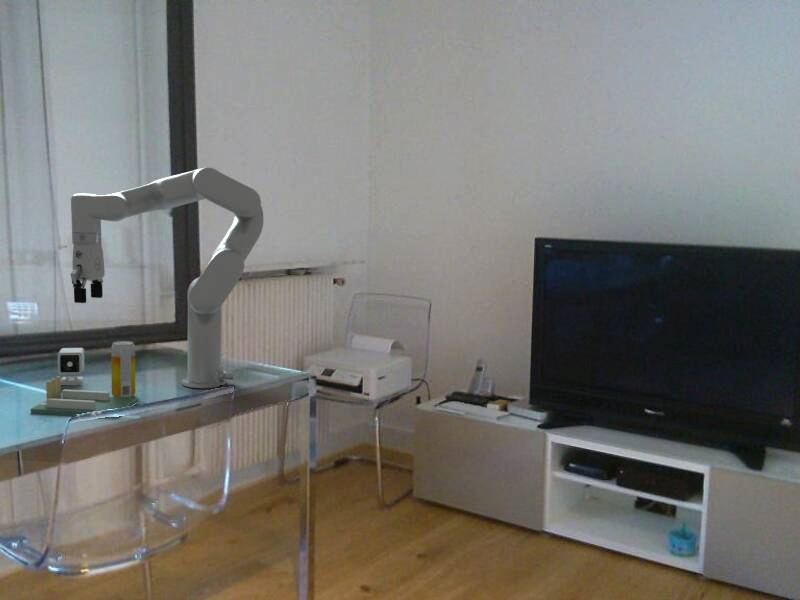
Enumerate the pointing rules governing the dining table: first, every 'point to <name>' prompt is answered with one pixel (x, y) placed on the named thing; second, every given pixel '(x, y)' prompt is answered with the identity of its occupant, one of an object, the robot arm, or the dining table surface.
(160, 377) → the dining table surface
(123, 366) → the beer can
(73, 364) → the security camera
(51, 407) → the board
